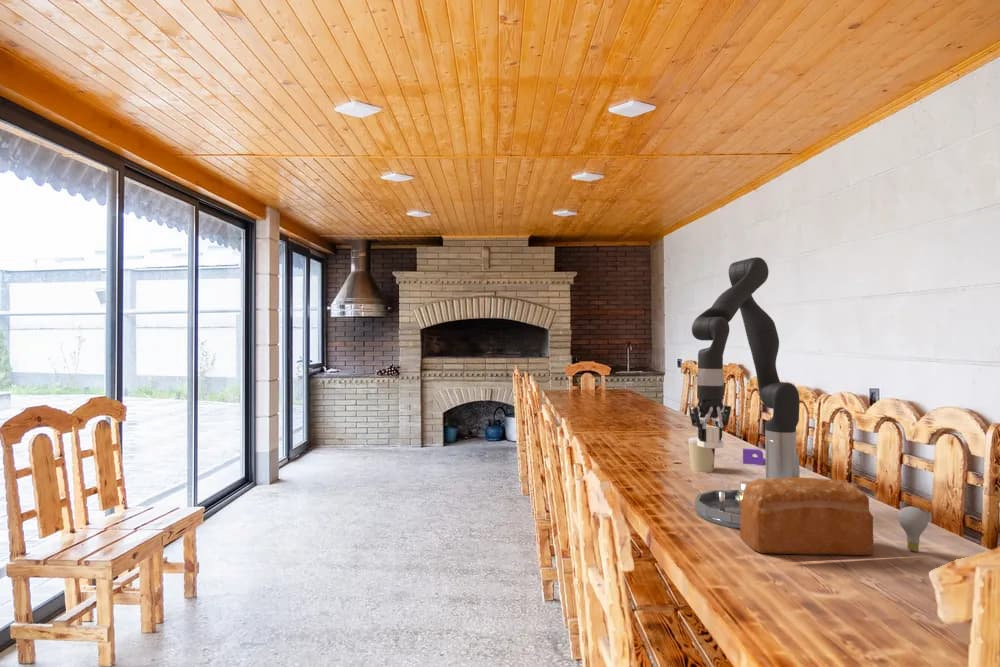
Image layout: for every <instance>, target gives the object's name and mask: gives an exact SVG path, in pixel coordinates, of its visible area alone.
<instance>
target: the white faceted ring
mask: <svg viewBox="0 0 1000 667" xmlns="http://www.w3.org/2000/svg"><path fill="white" fill-rule="evenodd" d="M705 429H706V441H705V442H702V441H700V440H699V439H698V440H697V446H700V447H706V448H715V449H723V448H724V440H722V439H721V440H720V441H719V427H715V425H713V426H711V425H706V428H705Z"/></svg>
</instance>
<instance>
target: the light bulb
mask: <svg viewBox="0 0 1000 667" xmlns="http://www.w3.org/2000/svg"><path fill="white" fill-rule="evenodd" d="M897 519H898V523H899V524H900V525H899V526H900V527H901V528H902V529H903V531H904V532H905V533H904V534H906V541H907V547H906V548H907V549H908V550H910V551H911V553H912V552H913V553H915V552H918V551H919V549H920V548H919V546H920V545H919V543H920V537H921V536H922V533H924V532H925V529H927V527H928V524H929V521H928V520H929V519H928V516H927V515H926V512H924V511H923V510H922V509H921V508H919V507H915V506H905V507H903V508H901V509H900V510H899V512H898V514H897Z"/></svg>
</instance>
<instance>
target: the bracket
mask: <svg viewBox="0 0 1000 667" xmlns="http://www.w3.org/2000/svg"><path fill="white" fill-rule="evenodd" d="M753 455H756V457H755V456H753ZM764 462H765V457H764V453H763V451H762V450H761V449H757V448H744V447H743V449H742V464H743V465H754V464H755V466H764Z"/></svg>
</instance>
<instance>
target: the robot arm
mask: <svg viewBox="0 0 1000 667" xmlns="http://www.w3.org/2000/svg"><path fill="white" fill-rule="evenodd" d="M728 277H729V281H730V285H731V286H730V287H729V288H727V289H726V290H725V291H723V292H722V293H721V294H720V295H719V296H718V297H717V298H716V300H715V301H714V302H713V304H712V305H711V307H709V308H707V309H706V310H705V311H704V312H702V313H701V314H699V315H698V316H697V317H696V318H695V319H694V321H693V323H692V326H691V333H692V334H691V335H692V336H693V337H694V338H695V339H696V340H698V341H711V344H710V346H709V347H705V348H701V349H699V350H698V352H697V374H696V398H697V400H698V402H697V404H696V405H695V406H689V408H688V411H689V417H690V420H691V421H690V422H691V426H692V427H695V428H697V430H698V432H697V437H698V438H699V440H700V441H702V442H705V441H706V429H705V428H706V426H708V425H707V424H708V422H709V421H710V419H711V420H712V422H713V426H714V427H719V441H720V440H721V441H722V438H723V428H724V427H727V426H729V422H730V418H731V411H732V406H731V405H726V404H725V405H724V403H723V400H724V398H725V396H724V395H725V394H724V393H725V392H724V391H725V389H724V388H725V387H724V386H725V385H724V384H725V383H724V382H725V379H724V378H725V377H724V351H725V348H726V344H727V341H728V338H729V334H730V324H729V323H730V322H731V321H732V320H733V318H734V316H735V315H736V314H737V312H738V311H739V310H740V314H741V317H742V320H743V325H744V329H745V330H744V331H745V334H746V337H747V338H746V339H747V342H748V346H749V348H750V351H751V352H750V353H751V357H752V361H753V364H754V369H755V374H756V381H757V388H758V393H759V397H760V400H761V403H762V404H763V405H764V406H765V407H767V408H768V409H772V417H771V418H769V419H768V420H766V421H765V425H764V428H765V429H764V431H765V433H764V435H765V437H764V438H765V439H764V440H765V444H764V446H765V447H764V448H765V452H764V453H765V479H769V478H776V479H783V478H792V477H800V474H801V473H800V470H801V469H800V455H799V454H797V426H798V424H799V421H800V420H799V419H800V403H801V401H800V394H799V390H798V388H797V387H796V386H795V385H794V384H792V383H789V382H783V381H781V380H780V378H779V375H778V371H777V364H776V363H777V357H778V353H779V348H780V339H779V334H778V331H777V330H778V329H777V327H776V324H775V323H776V322H774V320H773V318H772V317H771V316H770V315H769V314H768V313H767V312H766V311H765V310H764V309H763V308H762V307H760V305H758V302H756V300H755V298H754V296H753V294H754V293H755V292H756V291H757V290H758V289H759V288H760V287H761V286H763V284H764V283H765V282H766V281H767V280H768V277H769V267H768V263H767V262H766V260H765V259H763V258H762V257H757V256H756V257H750V258H746V259H742V260H738V261H735V262H732V263H731V264H729V266H728Z"/></svg>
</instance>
